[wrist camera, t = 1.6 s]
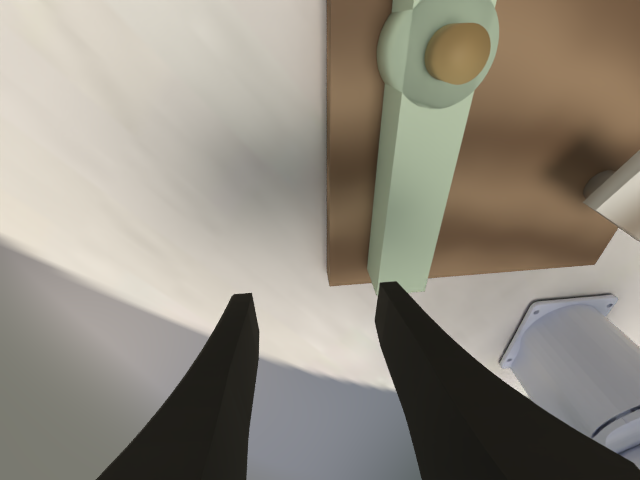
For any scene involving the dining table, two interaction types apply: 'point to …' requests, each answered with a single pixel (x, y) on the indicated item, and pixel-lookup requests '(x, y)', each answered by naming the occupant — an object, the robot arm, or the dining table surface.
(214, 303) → the dining table surface
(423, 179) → the link
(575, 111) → the board
